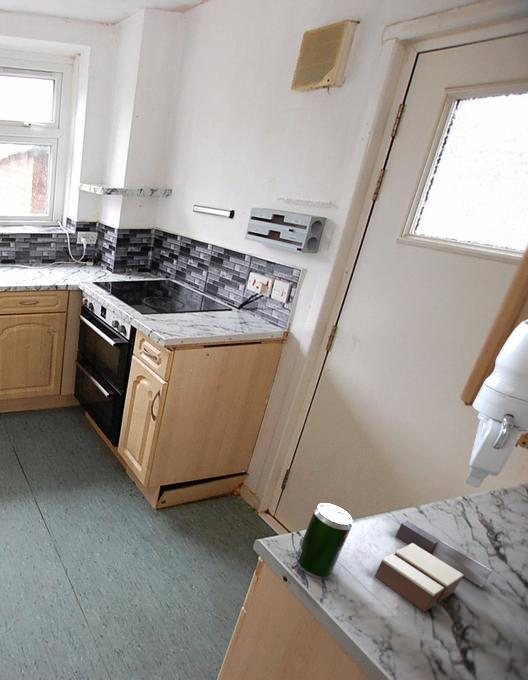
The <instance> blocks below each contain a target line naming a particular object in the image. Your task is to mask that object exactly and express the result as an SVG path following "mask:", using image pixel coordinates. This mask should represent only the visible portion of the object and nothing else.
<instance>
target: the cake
mask: <svg viewBox="0 0 528 680" xmlns="http://www.w3.org/2000/svg"><path fill="white" fill-rule="evenodd" d="M394 555H395V556H397V557H398V558H400V559H401V560H403V561H404V562H406V563H407V564H409V565H410V566H412V567H414V568H415V569H417V570H418V571H420V572H421V573H423V574H424V575H426V576H427V577H429V578H430V579H432V580H433V581H435V582H436V583H438V584H439V585H441V586H442V587H444V589H443V591H442V593H441V594H440V596H439V598H438V600H437V601H436V603H437V604H439V603H440V602H442V601H443V600H445V599H446V598H448V597H449V596H451V595H452V594H453V593H455V591H456V589H457V588H458V586H459V584H460V583H461V580H462V579H463V577H464V576H463V574H462V573H460V572H459V571H457V570H455V569H454V568H452V567H451V566H449V565H447V564H446V563H444V562H442V561H441V560H439V559H438V558H436V557H434V556H433V555H431V554H430V553H428V552H426V551H425V550H423V549H422V548H420V547H418V546H417V545H415V544H414V543H411V544H407V545H406V546H404V547H402V548H400V549H398V550H396V552H395V553H394Z"/></svg>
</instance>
